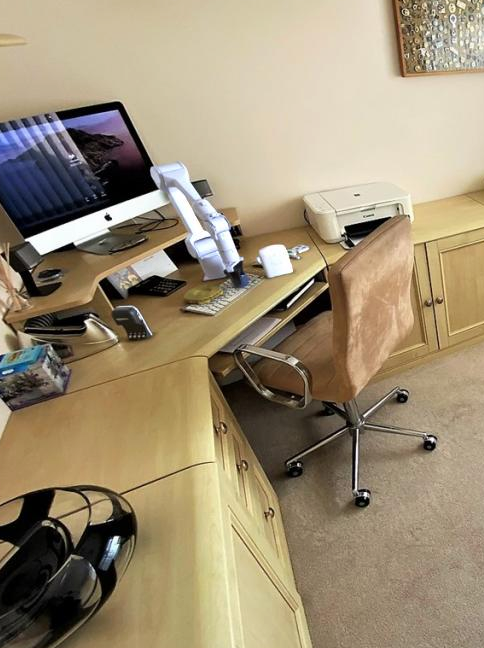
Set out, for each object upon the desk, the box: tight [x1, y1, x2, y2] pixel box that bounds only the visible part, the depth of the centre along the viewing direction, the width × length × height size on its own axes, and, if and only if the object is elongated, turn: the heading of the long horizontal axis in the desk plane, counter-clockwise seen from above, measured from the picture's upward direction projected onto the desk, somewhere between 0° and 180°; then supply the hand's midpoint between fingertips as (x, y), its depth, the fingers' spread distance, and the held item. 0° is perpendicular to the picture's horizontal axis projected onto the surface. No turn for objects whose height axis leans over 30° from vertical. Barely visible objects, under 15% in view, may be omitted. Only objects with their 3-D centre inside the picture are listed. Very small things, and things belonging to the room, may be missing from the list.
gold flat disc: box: [183, 283, 224, 305], centre depth 160 cm, size 12×12×2 cm
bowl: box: [230, 271, 250, 289], centre depth 166 cm, size 6×6×4 cm
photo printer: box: [258, 244, 294, 279], centre depth 171 cm, size 10×4×12 cm, turn 123°
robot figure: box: [255, 244, 310, 266], centre depth 189 cm, size 16×3×22 cm
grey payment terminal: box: [110, 305, 154, 341], centre depth 135 cm, size 7×4×11 cm, turn 92°
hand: (240, 281), depth 166 cm, fingers open, 7 cm apart
